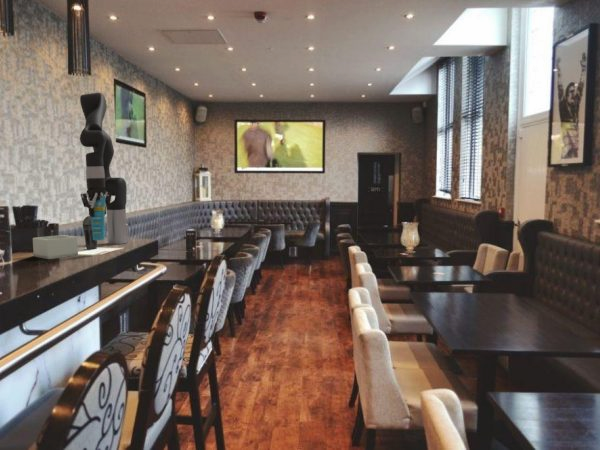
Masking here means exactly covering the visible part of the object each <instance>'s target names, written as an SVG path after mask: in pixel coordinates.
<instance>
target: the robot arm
mask: <svg viewBox="0 0 600 450" xmlns="http://www.w3.org/2000/svg"><path fill="white" fill-rule="evenodd" d="M79 102H80V107H81V110H82V112H83V116H84V119H85V125H84V126H85V127H84V128H83V129H82V131H81V133H80V134H79V143H81V145H82V146H83V147H87V148H92V150H93V152H92V151H91V152H87V153H86V155H85V166H86V167H85V180H86V182H85V183H86V188H87V190H86V192H84V193H80V197H81V200H82V205H83V207H85V208H88V216H90V217H94V208H93V206H94V203H95V201H97V200H100V197H99V196H101V198H102V196H105V215H106V231H107V233H106V234H107V244H108V245H121V244H127V243H129V239H130V237H129V225H128V223H127V211H126V210H127V209H126V207H127V190H128V189H127V182H126V180H125V179H124V178H123V177H112V176H111V172H110V166H111V163H112V160H113V158H114V155H115V149H114V146H113V141H112V138H111V137H110V135H109V134H108V133H107V132H106V131H105V129H103V123H104V122H103V121H104V118H105V115H106V112H107V106H108V105H107V99H106V97H105V94H103V93H102V92H93V93H92V92H91V93H84V94H81V95H80V97H79ZM88 196H89V200H88ZM112 196H113V197H114V199H113V201H111V200H112Z"/></svg>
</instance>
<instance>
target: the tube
mask: <svg viewBox="0 0 600 450" xmlns="http://www.w3.org/2000/svg"><path fill="white" fill-rule="evenodd" d="M99 197H100V200H97V201H95V203H94V206H93V208H94V217H91V224H92V235H93V240H97V241H103V240H105V239H106V238H105V236H106V232H105V226H106V225H105V222H106V221H105V218H106V217H105V216H106V214H105V198H106V196H105V195H104V196H102V198H101V196H99ZM87 199H88V201H89V196H88V197H87Z"/></svg>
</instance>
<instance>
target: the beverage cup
mask: <svg viewBox="0 0 600 450" xmlns="http://www.w3.org/2000/svg"><path fill="white" fill-rule="evenodd" d="M82 220H83V221H82V229H83V233H84V240H85V247H86V250H97V248H98V240H93V235H92V224H91V217H90V216H89V215H88V216H86V217H84V219H82Z"/></svg>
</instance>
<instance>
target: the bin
mask: <svg viewBox="0 0 600 450" xmlns="http://www.w3.org/2000/svg"><path fill="white" fill-rule="evenodd" d="M78 248H79V247H78V236H71V235H64V234H60V235H59V234H58V235H48V236H40V237H39V236H38V237H32V250H33V257H34V258H35V257H36V258H40V259H45V260H46V259H47V260H52V259H60V258H68V257H67V256H69V257H73V256H75V255H76V256H79V250H78ZM76 256H75V257H76Z"/></svg>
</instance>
